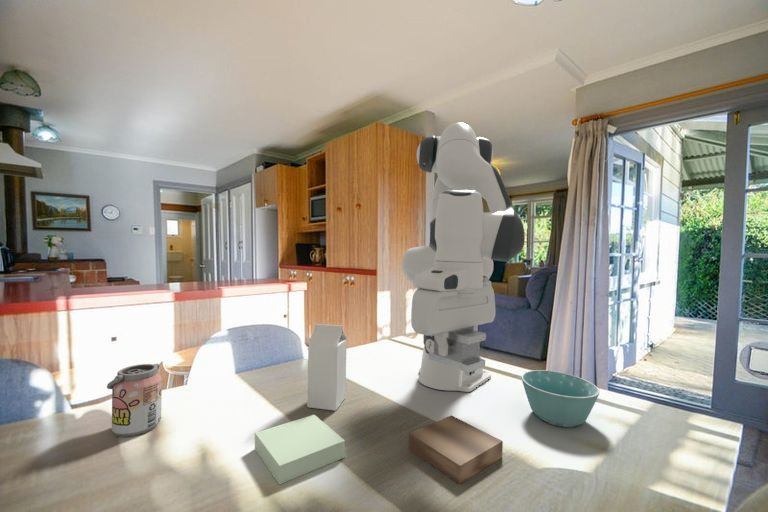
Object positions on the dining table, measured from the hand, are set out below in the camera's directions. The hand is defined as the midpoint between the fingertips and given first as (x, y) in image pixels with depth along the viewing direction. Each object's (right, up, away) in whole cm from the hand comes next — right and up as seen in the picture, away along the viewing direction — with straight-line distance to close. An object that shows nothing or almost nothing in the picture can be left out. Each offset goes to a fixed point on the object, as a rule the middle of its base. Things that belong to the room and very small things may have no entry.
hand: (456, 351), depth 63 cm
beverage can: (-64, -18, +7) cm, 67 cm away
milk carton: (-27, -18, +20) cm, 38 cm away
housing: (0, -2, 0) cm, 2 cm away
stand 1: (-29, -18, -1) cm, 34 cm away
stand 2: (0, -19, 0) cm, 19 cm away
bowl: (+26, -19, +15) cm, 36 cm away
